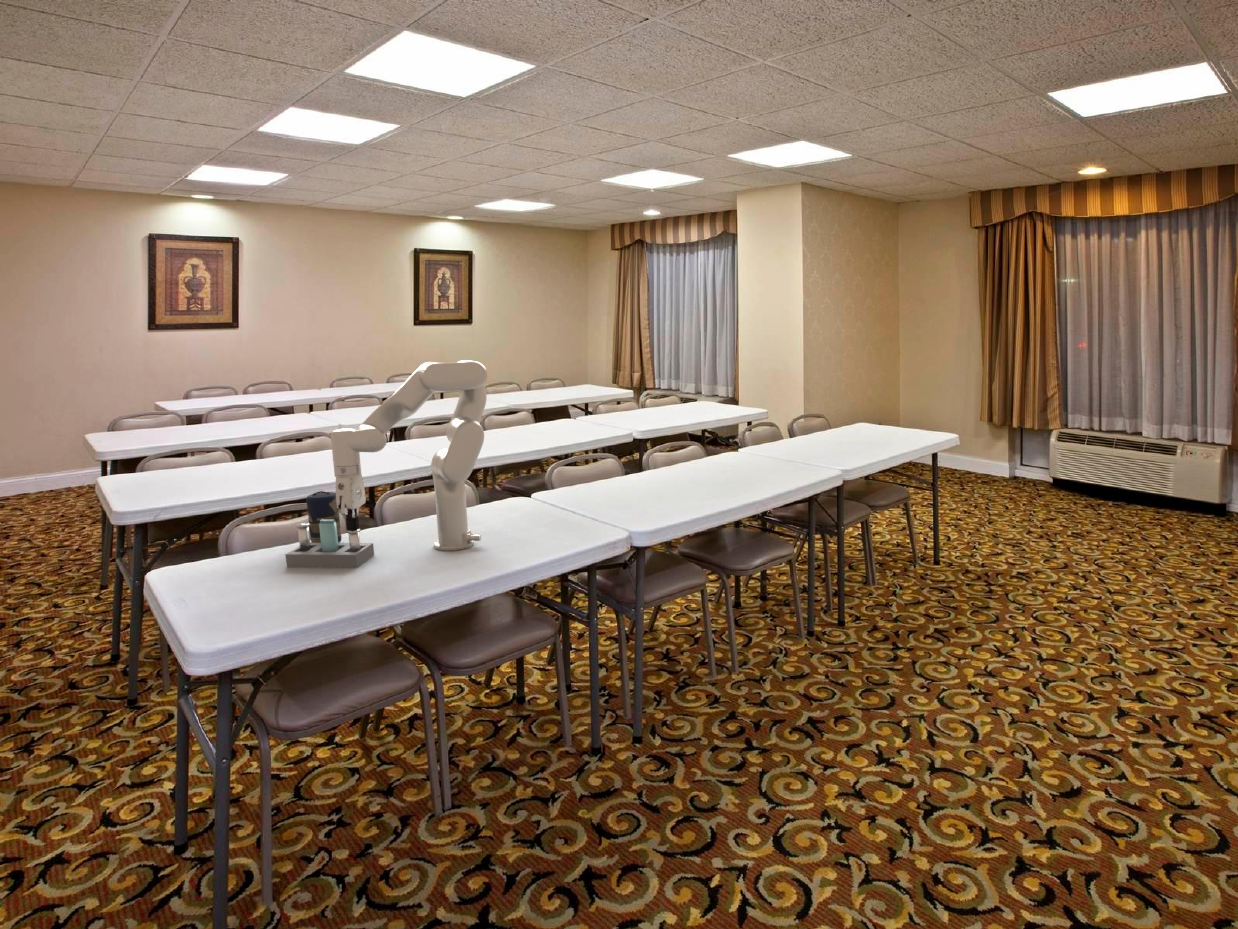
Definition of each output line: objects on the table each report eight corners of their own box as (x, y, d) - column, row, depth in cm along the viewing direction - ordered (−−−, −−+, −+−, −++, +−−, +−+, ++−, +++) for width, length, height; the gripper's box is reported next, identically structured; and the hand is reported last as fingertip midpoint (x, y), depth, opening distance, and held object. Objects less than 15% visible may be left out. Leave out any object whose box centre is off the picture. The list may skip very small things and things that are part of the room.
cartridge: (342, 558, 229) (338, 518, 227) (335, 563, 224) (330, 522, 222) (327, 558, 230) (323, 517, 227) (320, 563, 225) (315, 522, 223)
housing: (374, 555, 232) (373, 543, 231) (357, 567, 220) (355, 555, 219) (307, 554, 234) (306, 542, 233) (286, 567, 222) (285, 554, 222)
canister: (331, 549, 239) (325, 495, 236) (305, 548, 241) (299, 494, 238) (347, 540, 248) (342, 488, 245) (322, 539, 250) (316, 487, 247)
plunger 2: (364, 555, 228) (362, 528, 226) (359, 559, 224) (356, 531, 222) (352, 555, 228) (350, 528, 226) (347, 559, 224) (344, 531, 223)
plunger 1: (314, 549, 229) (311, 522, 227) (308, 553, 225) (305, 526, 224) (303, 549, 229) (300, 522, 228) (296, 553, 226) (293, 526, 224)
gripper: (348, 475, 213) (353, 537, 217) (370, 465, 228) (375, 523, 231) (323, 475, 214) (329, 536, 217) (347, 465, 229) (352, 523, 232)
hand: (353, 529), depth 224 cm, fingers closed
